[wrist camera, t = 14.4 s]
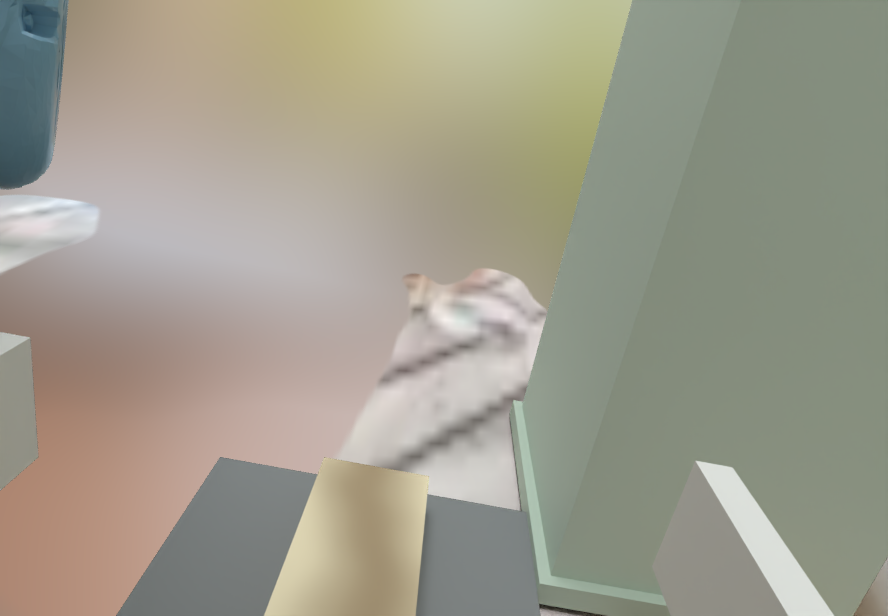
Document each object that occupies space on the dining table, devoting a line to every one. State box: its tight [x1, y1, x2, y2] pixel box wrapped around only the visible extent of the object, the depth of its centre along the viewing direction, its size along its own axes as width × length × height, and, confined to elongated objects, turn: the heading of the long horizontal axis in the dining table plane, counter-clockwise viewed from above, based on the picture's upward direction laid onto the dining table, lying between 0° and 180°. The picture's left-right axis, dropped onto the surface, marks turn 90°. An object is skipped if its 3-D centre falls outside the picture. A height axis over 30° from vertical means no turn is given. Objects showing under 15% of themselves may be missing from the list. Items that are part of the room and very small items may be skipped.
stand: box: [510, 0, 888, 616], centre depth 25 cm, size 13×14×30 cm
